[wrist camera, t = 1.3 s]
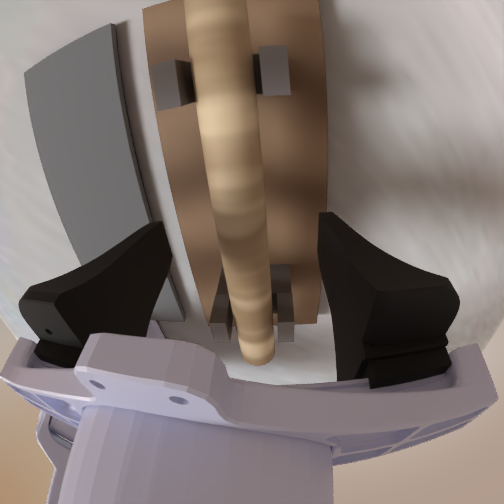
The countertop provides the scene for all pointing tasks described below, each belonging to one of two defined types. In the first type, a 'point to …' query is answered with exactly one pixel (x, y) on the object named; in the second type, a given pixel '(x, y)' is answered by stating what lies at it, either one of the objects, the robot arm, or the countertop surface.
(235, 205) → the rail
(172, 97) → the hook stand
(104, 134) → the mat
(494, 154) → the countertop surface
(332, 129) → the countertop surface
